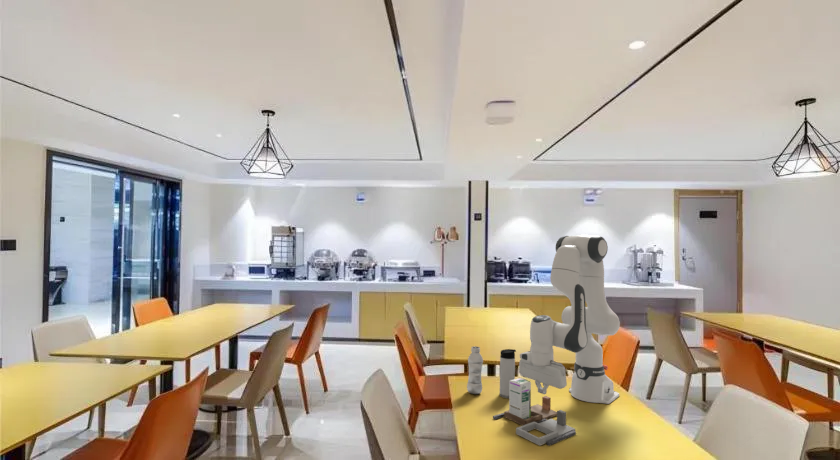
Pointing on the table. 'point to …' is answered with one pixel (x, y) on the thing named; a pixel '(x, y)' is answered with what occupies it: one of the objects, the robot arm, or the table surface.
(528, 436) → the grey sliding lid frame
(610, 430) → the table surface
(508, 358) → the travel mug
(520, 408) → the syrup box
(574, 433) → the lane rails
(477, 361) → the plastic bottle
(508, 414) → the brown flat tabbed frame
